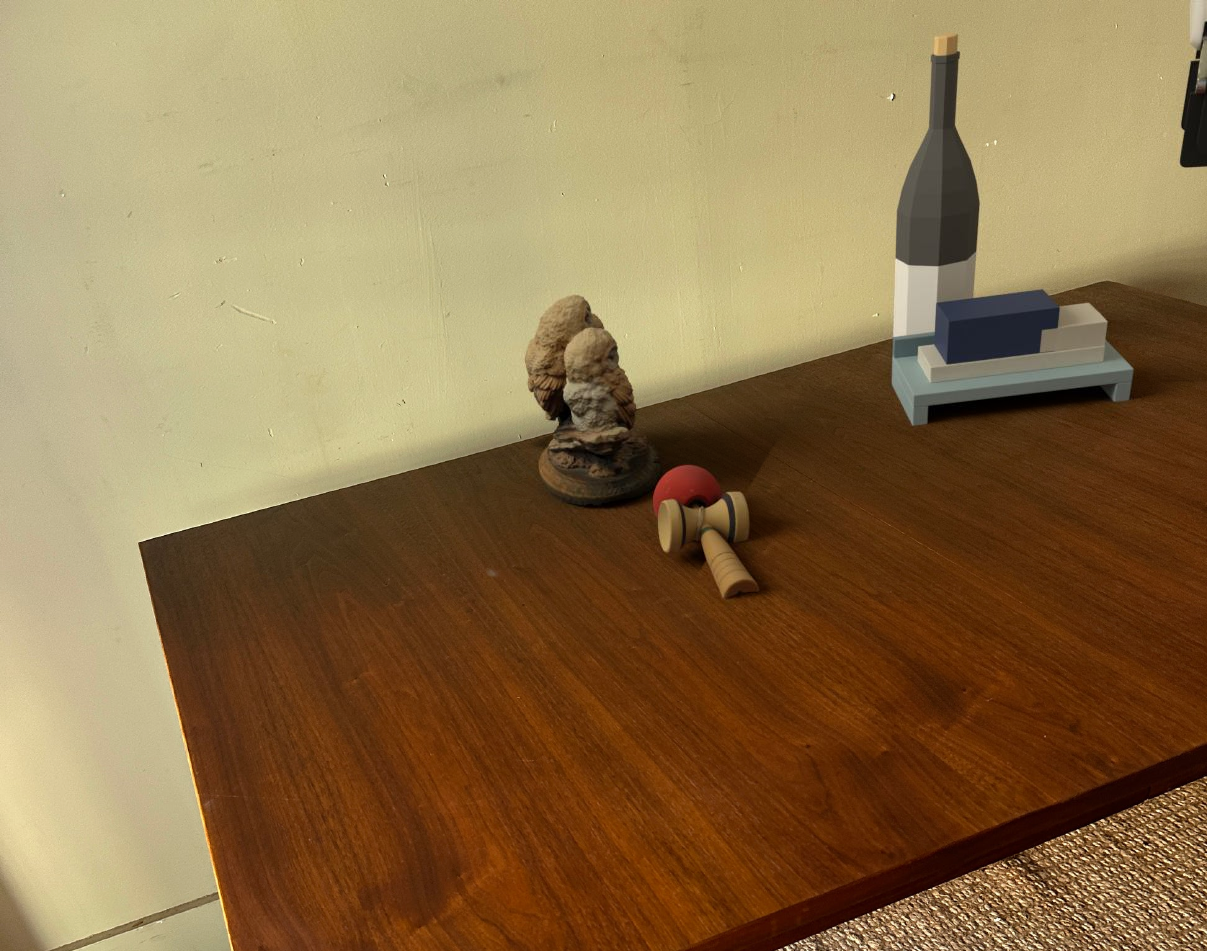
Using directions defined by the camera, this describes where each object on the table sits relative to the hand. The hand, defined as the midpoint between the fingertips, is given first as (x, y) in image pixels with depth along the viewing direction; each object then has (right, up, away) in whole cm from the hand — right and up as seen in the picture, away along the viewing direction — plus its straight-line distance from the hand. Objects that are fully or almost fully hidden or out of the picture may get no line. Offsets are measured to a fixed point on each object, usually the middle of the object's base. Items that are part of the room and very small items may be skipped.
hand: (1206, 145), depth 77 cm
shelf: (+1, -3, +41) cm, 41 cm away
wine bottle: (-3, +6, +53) cm, 54 cm away
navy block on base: (0, 0, +38) cm, 38 cm away
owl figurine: (-39, -10, +41) cm, 57 cm away
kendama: (-30, -22, +24) cm, 44 cm away
